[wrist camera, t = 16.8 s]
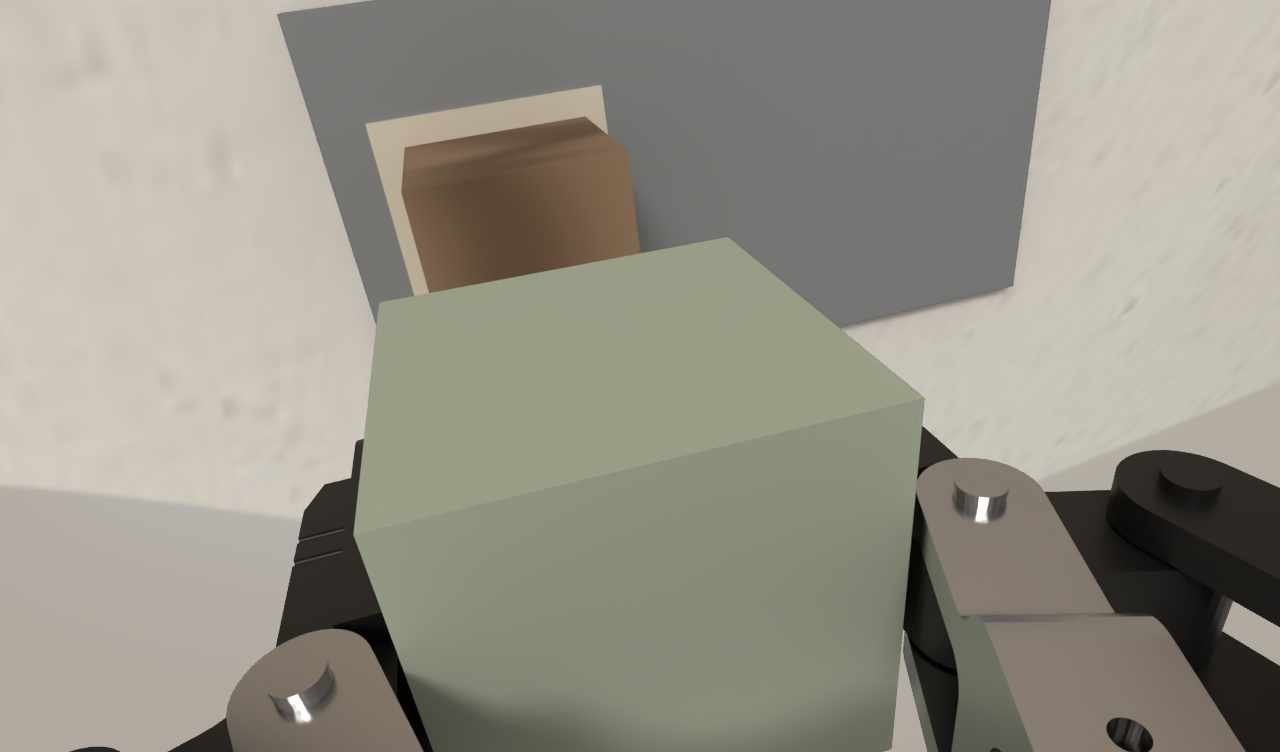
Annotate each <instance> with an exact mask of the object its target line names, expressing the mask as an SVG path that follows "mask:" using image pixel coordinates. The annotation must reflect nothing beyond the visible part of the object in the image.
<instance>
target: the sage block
mask: <svg viewBox="0 0 1280 752" xmlns="http://www.w3.org/2000/svg"><path fill="white" fill-rule="evenodd" d="M924 400H925V398H924V397H923V396H922V395H921V394H919V393H918V392H917V391H916V390H914V389H913V388H912V387H911V386H910V385H908V384H907V383H906V382H905V381H903V380H902V379H901V378H900V377H899V376H897V375H896V374H895V373H894V372H892V371H891V370H890V369H889V368H888V367H886V366H885V365H884V364H883V363H881V362H880V361H879V360H878V359H876V358H875V357H874V356H873V355H872V354H870V353H869V352H868V351H867V350H865V349H864V348H863V347H862V346H861V345H859V344H858V343H857V342H856V341H854V340H853V339H852V338H851V337H850V336H848V335H847V334H846V333H845V332H843V331H842V330H841V329H840V328H839V327H837V326H836V325H835V324H834V323H832V322H831V321H830V320H829V319H828V318H826V317H825V316H824V315H823V314H821V313H820V312H819V311H818V310H817V309H815V308H814V307H813V306H812V305H810V304H809V303H808V302H807V301H806V300H804V299H803V298H802V297H801V296H799V295H798V294H797V293H796V292H795V291H793V290H792V289H791V288H790V287H788V286H787V285H786V284H785V283H784V282H782V281H781V280H780V279H779V278H777V277H776V276H775V275H774V274H772V273H771V272H770V271H769V270H768V269H766V268H765V267H764V266H763V265H761V264H760V263H759V262H758V261H757V260H755V259H754V258H753V257H752V256H750V255H749V254H748V253H747V252H746V251H744V250H743V249H742V248H741V247H739V246H738V245H737V244H736V243H735V242H733V241H732V240H731V239H730V238H728V237H725V238H720V239H715V240H709V241H704V242H699V243H693V244H688V245H683V246H677V247H672V248H667V249H661V250H656V251H651V252H646V253H640V254H635V255H630V256H624V257H619V258H614V259H608V260H603V261H598V262H592V263H587V264H582V265H576V266H571V267H566V268H561V269H555V270H550V271H545V272H539V273H534V274H529V275H523V276H518V277H513V278H507V279H502V280H497V281H491V282H486V283H481V284H475V285H470V286H465V287H460V288H454V289H449V290H444V291H438V292H433V293H428V294H422V295H417V296H412V297H406V298H401V299H396V300H390V301H385V302H380V303H379V308H378V317H377V326H376V335H375V344H374V353H373V362H372V371H371V380H370V389H369V399H368V408H367V417H366V426H365V435H364V444H363V453H362V462H361V471H360V480H359V489H358V498H357V507H356V516H355V525H354V534H353V535H354V538H355V540H356V543H357V546H358V549H359V551H360V554H361V557H362V559H363V562H364V565H365V568H366V570H367V573H368V576H369V578H370V581H371V584H372V587H373V589H374V592H375V595H376V597H377V600H378V603H379V606H380V608H381V611H382V614H383V616H384V619H385V622H386V625H387V627H388V630H389V633H390V635H391V638H392V641H393V644H394V646H395V649H396V652H397V654H398V657H399V660H400V662H401V665H402V668H403V671H404V673H405V676H406V679H407V681H408V684H409V687H410V690H411V692H412V695H413V698H414V700H415V703H416V706H417V709H418V711H419V714H420V717H421V719H422V722H423V725H424V728H425V730H426V733H427V736H428V738H429V741H430V744H431V747H432V749H433V752H883V751H886V750H890V749H891V748H892V738H893V728H894V727H893V726H894V717H895V707H896V695H897V685H898V675H899V664H900V653H901V643H902V631H903V622H904V611H905V601H906V590H907V580H908V569H909V558H910V548H911V537H912V527H913V516H914V505H915V495H916V484H917V474H918V463H919V453H920V442H921V431H922V421H923V410H924Z"/></svg>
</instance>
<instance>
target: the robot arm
mask: <svg viewBox="0 0 1280 752" xmlns="http://www.w3.org/2000/svg"><path fill="white" fill-rule="evenodd" d="M363 444H364V439H362V440H358V441H357V442H356V445H355V452H354V460H353V468H352V476H351V478H350V479H345V480H341V481H337V482H333V483H329V484H325V485H324V486H323V487H322V489H321V490H320V491H319V493H318V494H317V495H316V496H315V498H314V499H313V500H312V502H311V503H310V504H309V506H308V507H307V508H306V509H305V511H304V514H303V519H302V524H301V528H300V533H299V538H298V539H299V543H298V544H297V548H296V553H295V557H294V563H295V566H294V567H292V572H291V577H290V582H289V586H288V591H287V596H286V601H285V606H284V611H283V615H282V620H281V625H280V630H279V635H278V639H277V644H276V648H274V649H273V650H272V651H270V652H269V653H267V654H266V655H264V656H263V657H262V658H261V659H260V660H259V661H257V662H256V663H255V664H254V665H253V666H252V667H251V668H250V669H249V670H248V671H247V673H246V674H245V675H244V676H243V677H242V679H241V680H240V681H239V683H238V684H237V686H236V687H235V690H234V691H233V693H232V695H231V698H230V700H229V703H228V707H227V713H226V718H225V719H223V720H222V721H221V722H219V723H218V724H216V725H215V726H214V727H212V728H210V729H208V730H207V731H205V732H203V733H202V734H200V735H198V736H197V737H194V738H193V739H191V740H189V741H187V742H185V743H183V744H181V745H180V746H178V747H176V748H174V749H173V750H170V751H168V752H433V749H432V747H431V744H430V741H429V738H428V736H427V733H426V730H425V728H424V725H423V722H422V719H421V717H420V714H419V711H418V709H417V706H416V703H415V700H414V698H413V695H412V692H411V690H410V687H409V684H408V681H407V679H406V676H405V673H404V671H403V668H402V665H401V662H400V660H399V657H398V654H397V652H396V649H395V646H394V644H393V641H392V638H391V635H390V633H389V630H388V627H387V625H386V622H385V619H384V616H383V614H382V611H381V608H380V606H379V603H378V600H377V597H376V595H375V592H374V589H373V587H372V584H371V581H370V578H369V576H368V573H367V570H366V568H365V565H364V562H363V559H362V557H361V554H360V551H359V549H358V546H357V543H356V540H355V538H354V535H353V534H354V525H355V516H356V507H357V498H358V489H359V480H360V471H361V462H362V453H363ZM1233 601H1234V602H1236V603H1238V604H1240V605H1242V606H1243V607H1245V608H1247V609H1249V610H1250V611H1252V612H1254V613H1256V614H1257V615H1259V616H1261V617H1263V618H1265V619H1266V620H1268V621H1270V622H1271V623H1273V624H1275V625H1277V626H1279V627H1280V488H1279V487H1276V486H1274V485H1272V484H1270V483H1267V482H1265V481H1263V480H1261V479H1258V478H1256V477H1254V476H1252V475H1249V474H1247V473H1244V472H1242V471H1240V470H1238V469H1236V468H1233V467H1231V466H1229V465H1227V464H1224V463H1222V462H1219V461H1216V460H1214V459H1210V458H1208V457H1204V456H1201V455H1196V454H1192V453H1186V452H1180V451H1170V450H1153V451H1145V452H1140V453H1136V454H1133V455H1131V456H1129V457H1126V458H1125V459H1124V460H1122V461H1121V462H1120V463H1119V465H1118V466H1117V468H1116V472H1115V475H1114V480H1113V484H1112V488H1111V490H1099V491H1098V490H1096V491H1068V492H1044V491H1043V489H1042V488H1041V487H1040V485H1039V484H1038V483H1037V482H1036V481H1035V480H1034V479H1032V478H1031V477H1030V476H1028V475H1027V474H1025V473H1023V472H1022V471H1020V470H1018V469H1016V468H1014V467H1011V466H1009V465H1006V464H1003V463H1000V462H996V461H992V460H987V459H979V458H958V457H957V456H956V455H955V454H954V453H953V452H951V451H950V450H949V449H948V448H947V447H946V446H945V445H944V444H942V443H941V442H940V441H939V440H938V439H937V438H936V437H934V436H933V435H932V434H931V433H930V432H929V431H928V430H926V429H925V428H924V427H923V426H922V431H921V442H920V453H919V463H918V474H917V484H916V495H915V505H914V516H913V527H912V537H911V548H910V558H909V569H908V580H907V590H906V601H905V611H904V622H903V629H904V630H905V635H904V649H903V654H904V660H905V664H906V667H907V672H908V676H909V680H910V683H911V688H912V692H913V696H914V700H915V704H916V708H917V711H918V716H919V720H920V723H921V727H922V731H923V735H924V739H925V743H926V747H927V751H928V752H1280V666H1279V665H1277V664H1276V663H1274V662H1272V661H1271V660H1269V659H1267V658H1266V657H1264V656H1262V655H1261V654H1259V653H1257V652H1256V651H1254V650H1252V649H1251V648H1249V647H1247V646H1246V645H1244V644H1243V643H1241V642H1239V641H1237V640H1236V639H1234V638H1233V637H1231V636H1229V635H1228V634H1226V633H1224V632H1222V629H1223V627H1224V624H1225V621H1226V618H1227V616H1228V613H1229V610H1230V608H1231V605H1232V602H1233ZM71 752H119V751H117V750H115V749H113V748H108V747H88V748H82V749H77V750H74V751H71Z"/></svg>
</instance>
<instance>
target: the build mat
mask: <svg viewBox="0 0 1280 752" xmlns="http://www.w3.org/2000/svg"><path fill="white" fill-rule="evenodd" d="M1050 4H1051V0H373V1H366V2H359V3H351V4H344V5H337V6H330V7H323V8H315V9H308V10H301V11H294V12H287V13H280V14H277V16H278V19H279V22H280V25H281V28H282V32H283V35H284V38H285V41H286V44H287V47H288V50H289V53H290V57H291V60H292V63H293V66H294V69H295V72H296V75H297V79H298V82H299V85H300V88H301V91H302V94H303V97H304V100H305V104H306V107H307V110H308V113H309V116H310V119H311V122H312V125H313V129H314V132H315V135H316V138H317V141H318V144H319V147H320V151H321V154H322V157H323V160H324V163H325V166H326V169H327V172H328V176H329V179H330V182H331V185H332V188H333V191H334V194H335V197H336V201H337V204H338V207H339V210H340V213H341V216H342V219H343V222H344V226H345V229H346V232H347V235H348V238H349V241H350V244H351V248H352V251H353V254H354V257H355V260H356V263H357V266H358V269H359V273H360V276H361V279H362V282H363V285H364V288H365V291H366V294H367V298H368V301H369V304H370V307H371V310H372V313H373V316H374V319H375V323H376V326H377V317H378V308H379V303H380V302H385V301H390V300H396V299H401V298H406V297H412V296H417V295H422V294H428V293H429V291H428V288H427V284H426V280H425V277H424V273H423V269H422V266H421V262H420V259H419V255H418V251H417V248H416V244H415V240H414V237H413V233H412V230H411V226H410V222H409V219H408V215H407V212H406V208H405V204H404V201H403V197H402V193H401V189H402V175H403V162H404V149H405V147H410V146H416V145H422V144H428V143H434V142H439V141H445V140H451V139H457V138H463V137H468V136H474V135H480V134H486V133H492V132H497V131H503V130H509V129H515V128H521V127H526V126H532V125H538V124H544V123H550V122H555V121H561V120H567V119H573V118H579V117H587V118H588V119H589V120H590V121H592V122H593V123H594V124H595V125H596V126H598V127H599V128H600V129H601V130H603V131H604V132H605V133H606V134H607V135H609V136H610V137H611V138H612V139H614V140H615V141H616V142H617V143H618V144H620V145H621V146H622V147H623V148H624V149H626V150H627V151H628V157H629V165H630V173H631V181H632V189H633V197H634V205H635V213H636V221H637V229H638V237H639V245H640V253H646V252H651V251H656V250H661V249H667V248H672V247H677V246H683V245H688V244H693V243H699V242H704V241H709V240H715V239H720V238H725V237H728V238H730V239H731V240H732V241H733V242H735V243H736V244H737V245H738V246H739V247H741V248H742V249H743V250H744V251H746V252H747V253H748V254H749V255H750V256H752V257H753V258H754V259H755V260H757V261H758V262H759V263H760V264H761V265H763V266H764V267H765V268H766V269H768V270H769V271H770V272H771V273H772V274H774V275H775V276H776V277H777V278H779V279H780V280H781V281H782V282H784V283H785V284H786V285H787V286H788V287H790V288H791V289H792V290H793V291H795V292H796V293H797V294H798V295H799V296H801V297H802V298H803V299H804V300H806V301H807V302H808V303H809V304H810V305H812V306H813V307H814V308H815V309H817V310H818V311H819V312H820V313H821V314H823V315H824V316H825V317H826V318H828V319H829V320H830V321H831V322H832V323H834V324H835V325H836V326H837V327H838V326H842V325H846V324H851V323H855V322H859V321H864V320H868V319H872V318H877V317H881V316H885V315H890V314H894V313H898V312H903V311H907V310H911V309H916V308H920V307H924V306H929V305H933V304H937V303H942V302H946V301H950V300H954V299H959V298H963V297H967V296H972V295H976V294H980V293H985V292H989V291H993V290H998V289H1002V288H1006V287H1011V286H1013V282H1014V274H1015V267H1016V259H1017V252H1018V244H1019V237H1020V229H1021V222H1022V214H1023V207H1024V199H1025V192H1026V184H1027V177H1028V169H1029V162H1030V154H1031V147H1032V139H1033V132H1034V124H1035V117H1036V109H1037V102H1038V94H1039V87H1040V79H1041V72H1042V64H1043V57H1044V49H1045V42H1046V34H1047V27H1048V19H1049V12H1050Z"/></svg>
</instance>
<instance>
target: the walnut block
mask: <svg viewBox="0 0 1280 752" xmlns="http://www.w3.org/2000/svg"><path fill="white" fill-rule="evenodd" d="M401 193H402V197H403V201H404V204H405V208H406V212H407V215H408V219H409V222H410V226H411V230H412V233H413V237H414V240H415V244H416V248H417V251H418V255H419V259H420V262H421V266H422V269H423V273H424V277H425V280H426V284H427V288H428V291H429V293H433V292H438V291H444V290H449V289H454V288H460V287H465V286H470V285H475V284H481V283H486V282H491V281H497V280H502V279H507V278H513V277H518V276H523V275H529V274H534V273H539V272H545V271H550V270H555V269H561V268H566V267H571V266H576V265H582V264H587V263H592V262H598V261H603V260H608V259H614V258H619V257H624V256H630V255H635V254H640V245H639V237H638V229H637V221H636V213H635V205H634V197H633V189H632V181H631V173H630V165H629V157H628V151H627V150H626V149H624V148H623V147H622V146H621V145H620V144H618V143H617V142H616V141H615V140H614V139H612V138H611V137H610V136H609V135H607V134H606V133H605V132H604V131H603V130H601V129H600V128H599V127H598V126H596V125H595V124H594V123H593V122H592V121H590V120H589V119H588V118H587V117H579V118H573V119H567V120H561V121H555V122H550V123H544V124H538V125H532V126H526V127H521V128H515V129H509V130H503V131H497V132H492V133H486V134H480V135H474V136H468V137H463V138H457V139H451V140H445V141H439V142H434V143H428V144H422V145H416V146H410V147H405V149H404V162H403V175H402V189H401Z"/></svg>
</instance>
